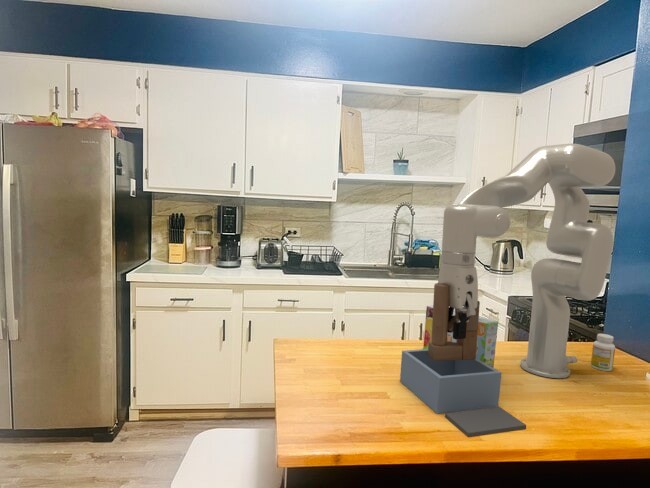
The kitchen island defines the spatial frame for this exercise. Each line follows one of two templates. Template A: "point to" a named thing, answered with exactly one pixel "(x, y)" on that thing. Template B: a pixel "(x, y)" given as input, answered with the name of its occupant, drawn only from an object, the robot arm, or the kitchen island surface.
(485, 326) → the snack box
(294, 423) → the kitchen island surface
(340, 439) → the kitchen island surface
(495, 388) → the box
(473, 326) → the brown piece
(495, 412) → the place mat
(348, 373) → the kitchen island surface
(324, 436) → the kitchen island surface
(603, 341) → the supplement bottle
